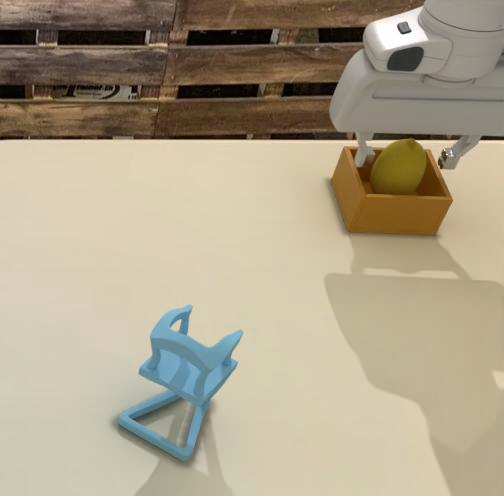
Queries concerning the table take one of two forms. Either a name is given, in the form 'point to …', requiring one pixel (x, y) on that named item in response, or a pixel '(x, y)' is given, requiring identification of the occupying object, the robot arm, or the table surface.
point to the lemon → (398, 168)
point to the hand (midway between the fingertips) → (403, 165)
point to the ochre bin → (389, 199)
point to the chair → (181, 376)
